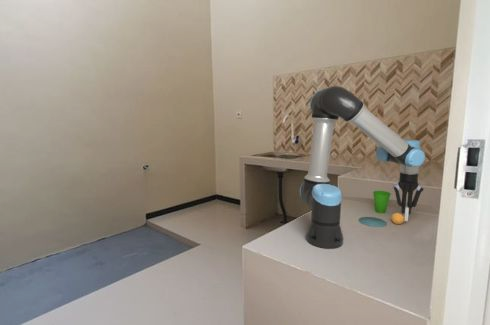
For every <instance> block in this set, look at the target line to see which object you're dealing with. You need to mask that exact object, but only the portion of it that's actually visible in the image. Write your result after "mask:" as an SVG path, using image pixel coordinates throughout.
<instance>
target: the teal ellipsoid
mask: <svg viewBox="0 0 490 325" xmlns="http://www.w3.org/2000/svg"><path fill="white" fill-rule="evenodd" d="M358 222H359V223H360V224H362V225H365V226H368V227H375V228H382V227H386V226H387V225H388V223H387V221H385V220H384V219H381V218H378V217H374V216H373V217H372V216H362V217H360V218H358Z"/></svg>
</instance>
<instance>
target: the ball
mask: <svg viewBox="0 0 490 325" xmlns="http://www.w3.org/2000/svg"><path fill="white" fill-rule="evenodd" d="M390 219H391V221H392V222H393V224H395V225H401V224H403V223H404V222H405V221H404V217H403V214H402V213H400V212H394V213H392V215H391V218H390Z"/></svg>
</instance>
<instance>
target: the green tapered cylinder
mask: <svg viewBox="0 0 490 325" xmlns="http://www.w3.org/2000/svg"><path fill="white" fill-rule="evenodd" d="M372 193H373V202H374V210H375V213H377V214H386V213H387V212H386V211H387V208H388V204H389V200H390V197H391V195H392V193H391V192H389V191H385V190H373V191H372Z"/></svg>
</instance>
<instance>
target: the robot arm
mask: <svg viewBox="0 0 490 325" xmlns="http://www.w3.org/2000/svg"><path fill="white" fill-rule="evenodd" d="M309 107H310V110H311V120H312V121H313V131H312V139H311V148H310V154H309V155H310V156H309V162H308V171H307V174H305V176H304V177H303V182H302V183H301V185H300V187H299V195H300V198H301V200H302V201H303V203H305V204H306V205H307V206H308V207H309V208H311V218H310V219H311V221H310V224H309V226H308V228H307V232H306V237H305V238H306V242H308V243H309V244H310V245H312V246H315V247H317V248H321V249H322V248H323V249H338V248H340V247H342V246H343V245H344V234H343V231H342V228H341V225H340V224H341V211H342V210H341V209H342V200H343V199H342V191H341V189H340V188H339V187H338V186H336V185H333V184H332V185H331V184H330V181H331V180H330V179H329V177H328V170H329V164H330V156H331V150H332V141H333V134H334V127H335V124H336V123H337V122H338V121H339V118H340V119H341V120H343V121H345V122H346V123H348V122H349V123H351V124H353V125H354V126H355V128H358V129H359V130H360V131H361V132H362V133H364V134H365V135H366V136H367V137H368V138H370V139H371V140H372V141H374V142H375V143H376V144H377V145H378V147H376V151H375V157H376V159H377V161H379V162H383V163H386V162H390V163H394V164H397V165H398V164H399V165H400V168H399V169H400V170H399V178H398V180H399V181H398V183H397V184H396V185H393V186H392V188H393V190H394V194H395V197H396V202H397V205H398V206H399V207H401V214H402V215H403V217H404V222H409V215H411V213H412V208H415V207H416V206H417V204H418V201H419V199H420V197H421V194H422V192H423V191H424V190H425V189H424V187H422V186H420V185H419V182H418V181H419V168H420V166H422V165H423V164H424V162H425V160H426V154H425V152H424V151H423V150H421V141H420V140H418V139H403V138H402V137H400V136H399V135H398V134H397V133H396V132H394V130H392V129H391V128H390V127H389V126H387V125H386V124H385V123H384V122H382V120H381V119H379V118H378V117H377V116H376V115H375V114H373V113H372V112H371V111H369V110H368V109H367V108H366V107H365V104H364V102H363V101H362V100H361V99H360V98H358V97H357V96H356V95H355V94H353V93H352V92H351V91H349V90H348V89H346V88H344V87H342V86H338V85H333V86H330V87H326V88H322V89H319V90H317V91H316V92H315V93H314V94H313V95H312V97H311V98H310V102H309ZM400 189H401V194H402V195H400V191H399V190H400ZM415 190H416V191H415ZM414 191H415V194H414ZM413 194H414V196H413Z"/></svg>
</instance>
